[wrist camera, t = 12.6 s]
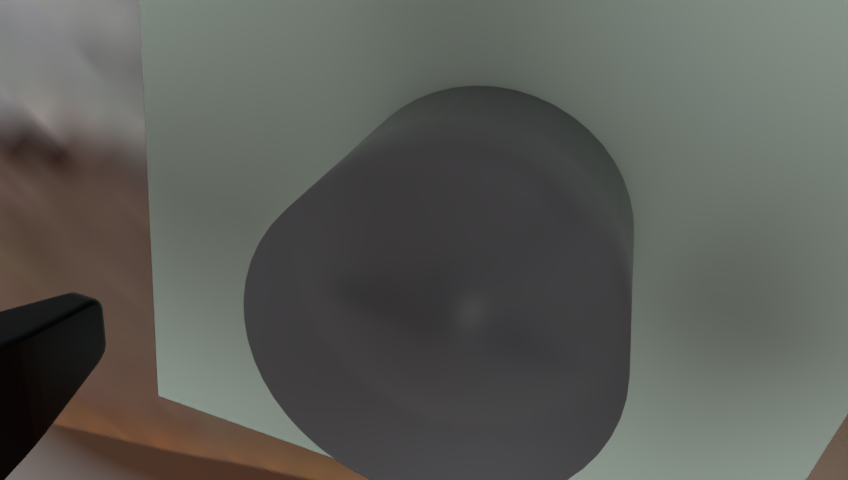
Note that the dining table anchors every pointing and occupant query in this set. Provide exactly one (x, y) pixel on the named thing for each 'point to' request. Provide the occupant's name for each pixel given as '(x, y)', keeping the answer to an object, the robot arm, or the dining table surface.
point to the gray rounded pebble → (453, 295)
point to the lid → (608, 121)
